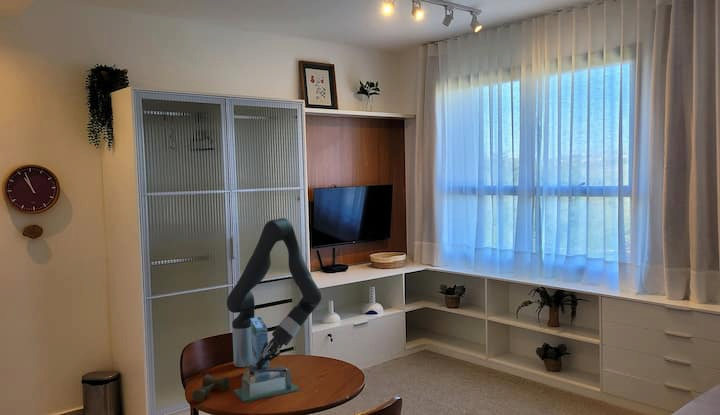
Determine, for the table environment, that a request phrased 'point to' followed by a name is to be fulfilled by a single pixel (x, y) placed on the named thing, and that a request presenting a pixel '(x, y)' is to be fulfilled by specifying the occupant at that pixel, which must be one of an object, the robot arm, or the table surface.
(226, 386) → the kendama
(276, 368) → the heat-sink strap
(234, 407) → the table surface
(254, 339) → the gum box
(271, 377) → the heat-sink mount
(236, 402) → the table surface
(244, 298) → the robot arm
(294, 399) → the table surface
